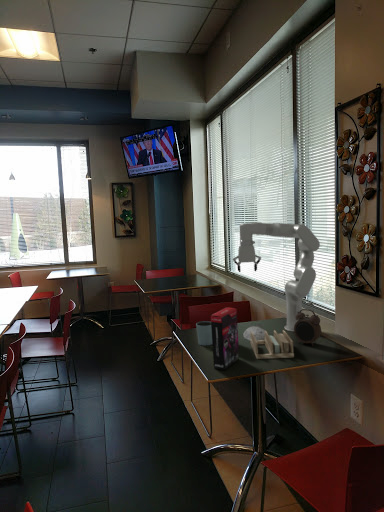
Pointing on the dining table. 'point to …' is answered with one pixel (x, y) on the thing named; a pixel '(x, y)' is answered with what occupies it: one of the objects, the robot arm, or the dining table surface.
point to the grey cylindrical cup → (204, 333)
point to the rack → (269, 346)
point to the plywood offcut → (284, 343)
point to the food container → (254, 333)
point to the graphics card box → (225, 338)
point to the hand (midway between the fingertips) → (247, 271)
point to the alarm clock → (307, 327)
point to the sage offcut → (275, 345)
